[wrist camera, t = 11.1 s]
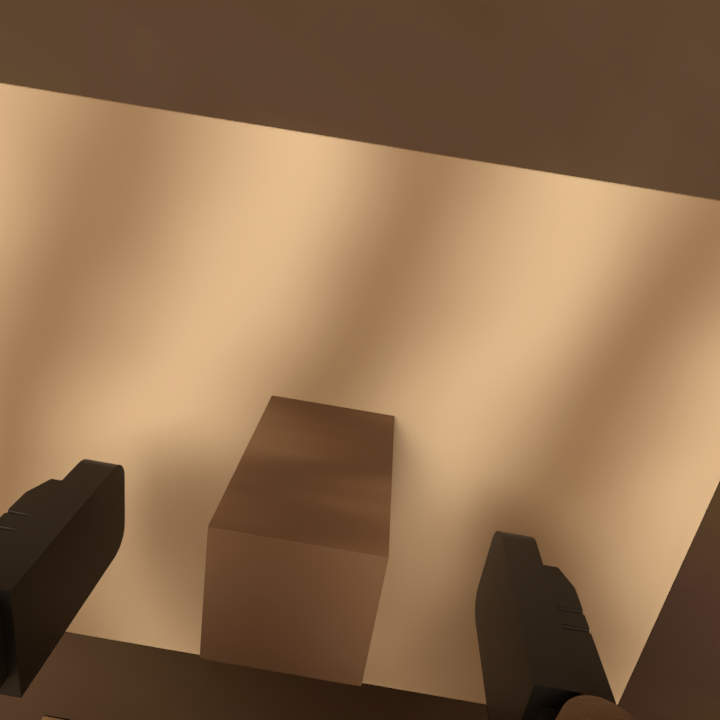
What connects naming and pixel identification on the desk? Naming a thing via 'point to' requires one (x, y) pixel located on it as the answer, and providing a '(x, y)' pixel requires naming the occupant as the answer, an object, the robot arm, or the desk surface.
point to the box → (49, 718)
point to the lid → (351, 383)
